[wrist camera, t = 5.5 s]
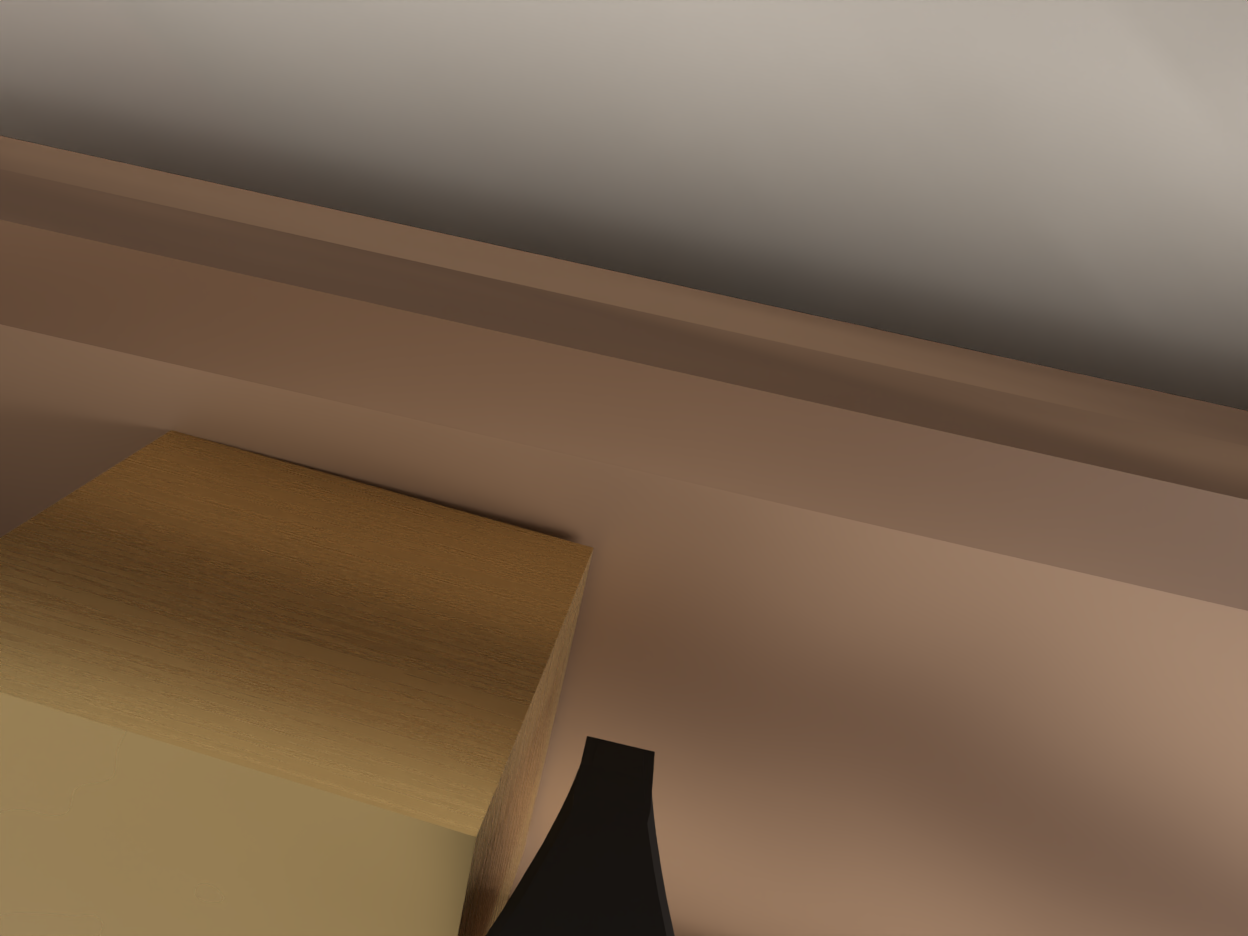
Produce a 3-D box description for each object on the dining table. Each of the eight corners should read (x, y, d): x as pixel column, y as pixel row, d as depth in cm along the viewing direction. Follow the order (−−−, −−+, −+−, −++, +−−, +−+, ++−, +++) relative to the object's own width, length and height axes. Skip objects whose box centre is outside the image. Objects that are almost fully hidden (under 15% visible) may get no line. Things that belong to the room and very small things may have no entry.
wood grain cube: (523, 850, 12) (410, 1185, 9) (181, 746, 12) (-65, 1029, 9) (593, 547, 10) (476, 836, 6) (171, 430, 10) (-166, 642, 7)
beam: (1576, 1137, 14) (1738, 1360, 12) (-135, 709, 15) (-298, 835, 13) (2231, 627, 9) (2722, 830, 7) (-318, 65, 10) (-629, 78, 8)
